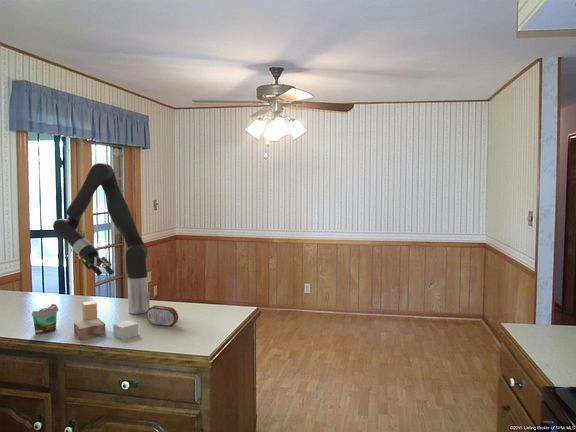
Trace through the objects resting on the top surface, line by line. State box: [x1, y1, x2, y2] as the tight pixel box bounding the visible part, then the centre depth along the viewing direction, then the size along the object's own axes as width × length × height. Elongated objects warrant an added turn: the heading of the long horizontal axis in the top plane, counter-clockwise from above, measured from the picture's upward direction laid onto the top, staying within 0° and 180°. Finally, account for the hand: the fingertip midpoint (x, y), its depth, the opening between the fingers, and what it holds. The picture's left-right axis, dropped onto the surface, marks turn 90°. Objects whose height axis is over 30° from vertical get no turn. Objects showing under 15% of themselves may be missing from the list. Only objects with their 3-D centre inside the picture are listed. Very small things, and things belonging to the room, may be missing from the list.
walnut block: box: [73, 317, 107, 341], centre depth 190 cm, size 10×10×5 cm
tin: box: [146, 304, 179, 327], centre depth 202 cm, size 15×3×8 cm, turn 71°
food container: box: [31, 303, 59, 335], centre depth 194 cm, size 12×6×10 cm, turn 168°
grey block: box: [113, 319, 139, 340], centre depth 189 cm, size 7×7×5 cm
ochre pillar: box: [81, 300, 98, 321], centre depth 202 cm, size 5×5×10 cm
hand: (106, 274), depth 209 cm, fingers open, 8 cm apart
